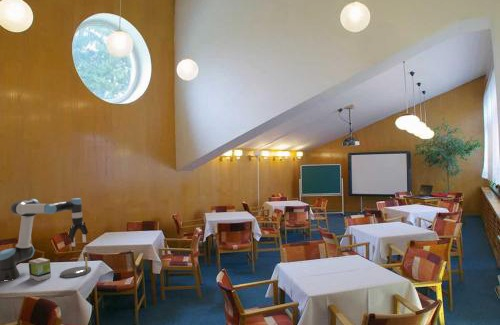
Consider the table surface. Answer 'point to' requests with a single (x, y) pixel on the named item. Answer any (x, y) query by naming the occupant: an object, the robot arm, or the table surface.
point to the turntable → (76, 271)
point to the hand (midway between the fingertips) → (79, 244)
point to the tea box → (39, 269)
